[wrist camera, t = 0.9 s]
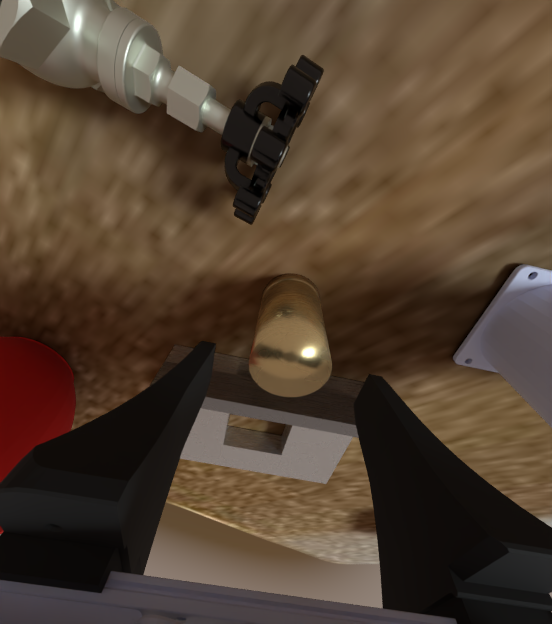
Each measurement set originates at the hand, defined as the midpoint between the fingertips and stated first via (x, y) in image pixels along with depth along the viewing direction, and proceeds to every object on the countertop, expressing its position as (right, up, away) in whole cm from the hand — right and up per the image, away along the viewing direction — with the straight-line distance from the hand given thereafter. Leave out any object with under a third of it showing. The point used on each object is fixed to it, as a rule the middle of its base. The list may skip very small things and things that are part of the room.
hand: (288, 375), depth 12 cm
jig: (-2, -6, +12) cm, 14 cm away
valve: (-5, +14, +1) cm, 15 cm away
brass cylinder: (0, +4, +7) cm, 8 cm away
